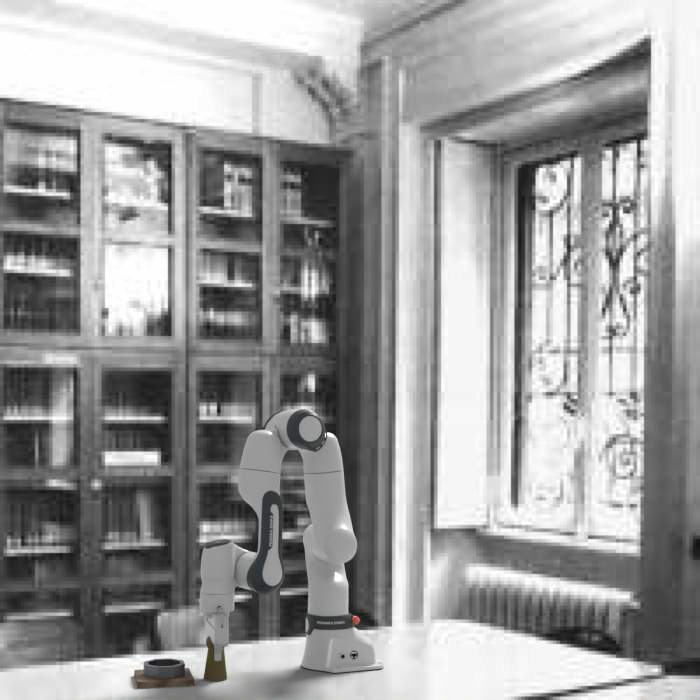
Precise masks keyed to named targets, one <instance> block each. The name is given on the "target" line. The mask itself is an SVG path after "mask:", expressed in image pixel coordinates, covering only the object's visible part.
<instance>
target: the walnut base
mask: <svg viewBox="0 0 700 700" xmlns="http://www.w3.org/2000/svg"><path fill="white" fill-rule="evenodd" d="M133 672H134V673H133V677H134V680H135V684H136V687H137V689H152V688H153V689H155V688H178V687H193V686H194V687H195V678H194V676H193V673H192V671H191V669H190V668H189V667H185V676H182V677H179V678H175V679H151V678H145V677H144V674H143V669H134V671H133Z"/></svg>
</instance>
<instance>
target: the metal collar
mask: <svg viewBox="0 0 700 700" xmlns="http://www.w3.org/2000/svg"><path fill="white" fill-rule="evenodd" d="M185 668H186V663H185V661H184V659H183V660H182V659H178V658H177V659H176V658H171V657H169V658H153V659H150V660H145V661H143V669H142V670H143V674H144V677H145V678H151V679H175V678H179V677H182V676H185Z"/></svg>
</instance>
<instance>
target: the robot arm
mask: <svg viewBox="0 0 700 700" xmlns="http://www.w3.org/2000/svg"><path fill="white" fill-rule="evenodd" d="M338 440H339V439H338V438H337V437H336V435H335V434H334V433H331V432H328V430H327V429H326V426H325V423H324V421H323V419H322V418H321V416H320V415H319V414H318V413H317V412H315V411H313V410H311V409H308V408H307V409H306V408H302V409H301V408H293V409H292V408H291V409H288V410H284V411H277V412H276V413H273V414H271V415H270V416H269V417H268V418H267V420H266V421H265V423H264V425H263V427H262V428H261V429H257V430H255V431H253V432H251V433H249V435H248V436H247V438H246V441H245V444H244V447H243V451H242V454H241V458H240V463H239V472H238V477H237V478H238V479H237V483H238V485H237V487H238V493H239V495H240V497H241V498H242V499H243V501H244V502H246V503H247V504H248V505H249V506H250V507H251V508H252V509H253V511H254V512H255V513H256V516H257V519H258V542H257V543H258V544H257V552H255V551H251V550H248V549H244V548H242V547H241V546H238V545H237V544H236V543H234V541H232V539H227V538H226V539H225V538H224V539H215V540H211V541H209V542H208V543H206V544H205V545H204V547H203V550H202V553H201V559H200V579H201V587H200V591H199V611H200V612H203V615H202V616H203V626H204V633H205V634H206V636H207V637H208V636H210V640H211V642H212V643H213V644H214V660H215V661H221V659H222V650H223V647H224V648H226V647H228V646H229V644H230V637H229V636H230V626H229V625H230V623H229V617H230V613H231V612H234V610H235V589H236V588H237V587H238V588H243V590H249V591H253V592H255V593H258V594H260V595H263V596H264V595H265V596H267V595H272V594H274V593H275V592H276V591H277V590H278V589H279V588H280V587H281V585H282V584H283V581H284V579H285V574H286V573H285V569H286V568H285V564H284V559H283V527H284V524H283V521H284V519H283V517H284V514H283V512H284V511H283V510H284V508H283V507H284V506H283V500H282V497H281V492H280V491H281V490H280V487H281V485H280V484H281V483H280V481H281V471H282V462H283V460H284V458H285V455H286V453H287V452H288V451H298V452H299V454H300V456H301V459H302V462H303V465H302V466H303V467H302V469H303V479H304V480H303V481H304V482H303V483H304V493H305V494H304V495H305V502H306V506H307V508H308V512H309V516H310V520H311V524H309V525H308V526H307V527H306V528H305V530H304V532H303V535H302V543H303V547H304V556H305V567H306V574H307V575H306V576H307V590H308V592H307V593H308V595H307V596H308V597H307V599H308V600H307V612H306V616H305V634H306V637H305V638H306V640H305V647H304V652H303V657H302V660H301V662H300V666H301V667H303V668H306V669H309V670H314V671H322V672H326V673H327V672H328V673H333V674H335V673H337V674H338V673H348V672H359V671H371V670H380V669H383V668H384V662H383V660H382V659H380V658H378V657H377V656H376V649H375V647H374V644H373V642H372V641H371V639H369V637H367V636H366V635H365V634H364V633H363V632H361V631H360V630H359V629H358V628H356V627H355V625H359V623H360V622H361V619H360V618H359V616H357V615H353V614H352V613H350V612H349V581H348V579H347V574H346V569H345V563H347V562H349V561H351V560H352V559H353V558H354V557H355V555H356V553H357V550H358V541H357V537H356V536H355V532H354V529H353V524H352V523H353V522H352V519H351V514H350V511H349V507H348V506H349V505H348V503H347V502H348V501H347V494H346V484H345V474H344V463H343V457H342V451H341V447H340V444H339V441H338Z"/></svg>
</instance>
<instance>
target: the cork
mask: <svg viewBox="0 0 700 700" xmlns="http://www.w3.org/2000/svg"><path fill="white" fill-rule="evenodd" d="M205 644H206V647H207V653H206V660H205V667H204V673H203V681H207V682H222V681H226V680H227V679H228V673H227V665H226V655H225V653H226V652H225V647H223V650H222V659H221V661H215V660H214V644H213V643H212V642H211V640H210V636H207V637H206V640H205Z"/></svg>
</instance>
